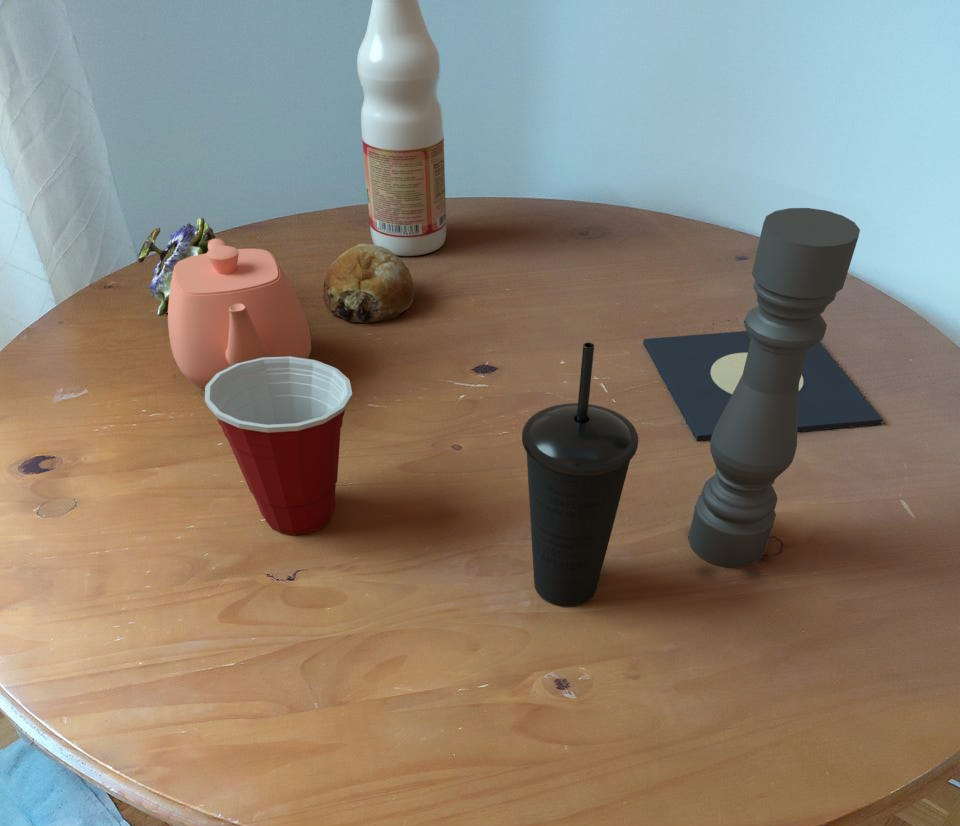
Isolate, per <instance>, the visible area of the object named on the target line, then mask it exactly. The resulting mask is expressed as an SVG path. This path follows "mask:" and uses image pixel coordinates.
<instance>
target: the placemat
mask: <svg viewBox="0 0 960 826" xmlns="http://www.w3.org/2000/svg"><path fill="white" fill-rule="evenodd" d="M750 342H751V338H750V336H749V334H748V333H747V331H746V330H740V331H729V332H715V333H714V332H713V333H704V334H703V333H702V334H689V335H676V336H663V337H651V338H649V337H648V338H643V346H644V348H645V350H646V351H647V353H648V355H649V357H650V358H651V361H652V362H653V365H654V366H655V368H656V370H657V371H658V374H659V375H660V377H661V379H662V380H663V382H664V385H665V386H666V388H667V390H668V392H669V393H670V395H671V397H672V399H673V400H674V402H675V404H676V406H677V408H678V409H679V412H680V413H681V416H682V417H683V418H684V421H685V422H686V424H687V426H688V428H689V430H690V432H691V433H692V435H693V437H694V438H695V441H696V442H700V441H711V437H712V434H713V431H714V428H715V426H716V425H717V423H718V421H719V419H720V417H721V415H722V413H723V411H724V409H725V407H726V406H727V404H728V402H729V400H730V398H731V396H732V394H733V392H734V390H735V388H736V386H737V384H738V382H739V380H740V378H741V376H742V374H743V371H744V366H745V362H746V358H747V354H748V350H749V346H750ZM883 420H884V419H883V417H882V416H881V415H880V414H879V413H878V411H877V410H876V409H875V408H874V406H873V405H872V404H871V403H870V401H869V400H868V399H867V398H866V397H865V396H864V394H863V393H862V391H861V390H859V388H858V387H857V386H856V384H855V383H854V382H853V381H852V379H850V377H849V375H848V374H847V373H845V371H844V369H842V367H841V366H840V365H839V363H837V361H836V360H835V359H834V357H832V355H831V353H829V351H828V350H827V349H826V348H825V346H824V345H823V344H822V343H821V341H820V342H818V343H817V344H816V345H814V346H813V347H812V348H810V349H809V351H808V354H807V358H806V361H805V365H804V368H803V371H802V375H801V378H800V382H799V399H798V429H797V433H800V432H813V431H822V430H823V431H824V430H835V429H845V428H856V427H857V428H858V427H866V426H879V425H882V423H883Z"/></svg>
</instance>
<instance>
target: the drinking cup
mask: <svg viewBox="0 0 960 826" xmlns="http://www.w3.org/2000/svg"><path fill="white" fill-rule="evenodd" d="M594 355H595V344H594V343H593V342H585V343H583V344H582V355H581V363H580V375H579V376H580V377H579V387H578V388H579V389H578V398H577V399H578V400H577V402H575V403H574V402H571V403H562V404H561V403H560V404H556V405H552V406H549V407H546V408H542V409H541V410H539V411H537V412H536V413H534V414H533V415H532V416H531V417H530V418H528V420H526V422H525V424H524V426H523V428H522V431H521V432H522V433H521V442H522V447H523V448H524V450H525V453H526V465H527V483H528V502H529V518H530V533H531V535H530V536H531V552H532V568H533V586H534V588H535V591H536V593H537V595H538V596H539V597H540V598H542V599H543V601H546V602H548V603H549V604H552V605H555V606H559V607H577V606H580V605H583V604H586V603H587V602H589V601H590V600H591V599H592V598H593V597H594V596H595V594H596V592H597V589H598V585H599V581H600V578H601V574H602V570H603V566H604V562H605V558H606V556H607V555H606V554H607V551H608V547H609V543H610V540H611V536H612V532H613V528H614V524H615V521H616V516H617V513H618V508H619V505H620V500H621V497H622V494H623V490H624V485H625V482H626V477H627V474H628V470H629V466H630V462H631V460H632V459H633V457H634V456H635V455H636V453H637V450H638V447H639V435H638V431H637V430H636V427H635V426H634V425H633V423H632V422H631V421H630V420H629V419H628V418H626V417H625V416H624V415H623V414H620V413H619V412H617V411H615V410H613V409H610V408H607V407H605V406H601V405H596V404H592V403H590V393H591V384H592V383H591V382H592V375H593V374H592V373H593V365H594V364H593V363H594Z"/></svg>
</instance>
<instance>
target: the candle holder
mask: <svg viewBox="0 0 960 826" xmlns="http://www.w3.org/2000/svg"><path fill="white" fill-rule="evenodd" d="M860 233H861V229H860V227H859V226H858V225H857V223H856V222H855V221H853V220H851V219H849V218H848V217H846V216H844V215H842V214H840V213H839V214H838V213H835V212H833V211H830V210H825V209H817V208H810V207H790V208H789V207H788V208H784V209H783V208H782V209H779V210H775V211H773V212H771V213H769V214H767V215H766V216H765V219H764V221H763V223H762V227H761V232H760V236H759V241H758V245H757V248H756V253H755V257H754V263H753V266H752V270H751V275H752V277H753V279H754V281H753V289H754V291H755V294H756V302H757V305H755V306H753V308H751V309H750V310H748V311H747V313H746V315H745V317H744V322H743V326H744V328H745V331H747V333H748V334H749V336H750V338H751V342H750V346H749V350H748V354H747V358H746V362H745V366H744V371H743V374H742V376H741V378H740V380H739V382H738V384H737V386H736V388H735V390H734V392H733V394H732V396H731V398H730V400H729V402H728V404H727V406H726V407H725V409H724V411H723V413H722V415H721V417H720V419H719V421H718V423H717V425H716V426H715V428H714V431H713V434H712V437H711V440H709V451H710V454H711V456H712V460H713V463H714V465H715V470H714V471H715V474H713V475H712V476H711V477H710V478H709V479H707V480H706V481H704V485H703V487H702V490H701V494H700V495H699V496H698V498H697V500H696V503H695V506H694V510H693V515H692V519H691V523H690V528H689V532H688V536H687V537H688V542H689V546H690V548H691V550H693V552H694V554H696V555H697V556H698V557H699V558H701V559H702V560H704V561H706V562H708V563H710V564H711V565H715V566H718V567H723V568H727V569H728V568H730V569H731V568H735V569H736V568H745V567H749V566H751V565H754V564H757V562H759V561H760V560H761V559H762V558H763V557H765V554H766V549H767V547H768V543H769V541H770V537H771V534H772V530H773V527H774V524H775V520H776V516H777V514H776V511H775V510H776V506H777V503H778V496H777V493H776V491H775V488H774V486H773V485H774V484H775V481H776V479H777V478H778V477H779V476H781V475H782V474H783V473H784V472H786V470H788V469H789V468H790V466H791V465H792V464H793V462H794V458H795V455H796V451H797V447H798V432H797V429H798V399H799V382H800V378H801V375H802V371H803V368H804V365H805V361H806V358H807V354H808V351H809V349H810V348H812V347H813V346H814V345H816V344H817V343H818V342H820V343H821V341H823V339H824V337H825V334H826V331H827V327H828V325H827V323H826V320H825V319H824V317H823V316H822V314H823V313H824V312H825V311H826V308H827V307H828V306H829V305H830V304H831V303H833V302H834V301H835V299H836V297H837V296H836V295H837V293H839V292H840V291H841V290H843V288H844V286H845V283H846V278H847V276H848V273H849V269H850V266H851V263H852V260H853V257H854V254H855V249H856V247H857V244H858V240H859V237H860Z"/></svg>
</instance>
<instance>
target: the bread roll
mask: <svg viewBox="0 0 960 826" xmlns="http://www.w3.org/2000/svg"><path fill="white" fill-rule="evenodd" d="M414 286H415V285H414V281H413V277H412V274H411V272H410V269H409V267H407V266H406V264H405V263H404V262H403V260H402V259H401V258H400V257H398V255H395V254H394V253H392V252H391V251H390V250H388V249H386V248H383V247H381V246H377V245H374V244H368V243H359V244H357V245H355V246H352V247H351V248H348V249H347V250H346V251H344V252H342V253H341V254H340V255H339V256H337V258H336V260H334V261H333V262H332V263H331V264H330V267H329V268H328V270H327V271H326V273H325V276H324V280H323V289H322V299H323V301H324V302H323V303H324V304H325V307H326V308H327V309H328V310H329V311H330V313H332V315H334V316H336V315H337V316H336V317H338V316H339V317H338V318H340V317H341V318H340V319H342V318H343V319H342V320H344V319H345V320H344V321H349V322H351V323H355V322H360V323H359V324H368V322H372V323H378V321H379V322H383V321H388V320H394V319H396V318H398V316H399V315H400V314H401V313H403V312H404V311H407V310H408V309H409V307H410V306H411V305H412V303H413V301H414V293H415V287H414ZM387 319H388V320H387ZM382 320H383V321H382Z"/></svg>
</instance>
